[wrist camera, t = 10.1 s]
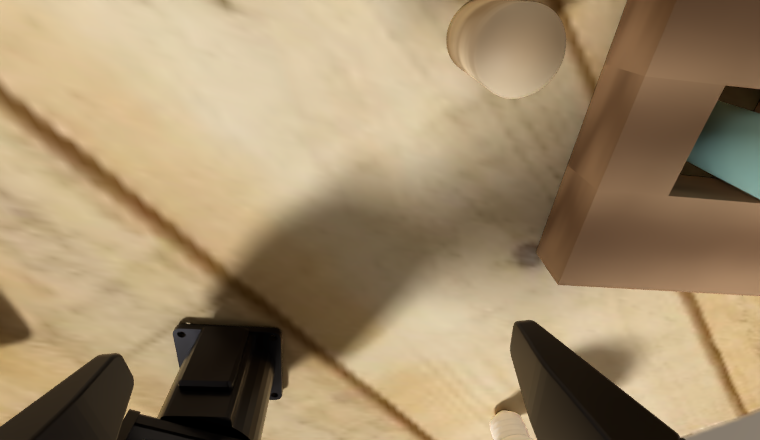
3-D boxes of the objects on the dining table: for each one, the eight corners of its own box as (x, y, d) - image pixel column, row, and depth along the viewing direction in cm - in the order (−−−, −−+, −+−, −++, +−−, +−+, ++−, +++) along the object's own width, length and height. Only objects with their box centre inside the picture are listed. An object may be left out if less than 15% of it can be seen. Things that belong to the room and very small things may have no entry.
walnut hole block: (721, 264, 25) (763, 296, 22) (535, 252, 24) (558, 284, 21) (920, -43, 17) (1023, -50, 14) (658, -84, 16) (717, -98, 13)
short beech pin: (504, 76, 19) (549, 103, 14) (440, 69, 18) (467, 94, 14) (522, 2, 17) (579, 7, 13) (453, -6, 17) (488, -5, 12)
